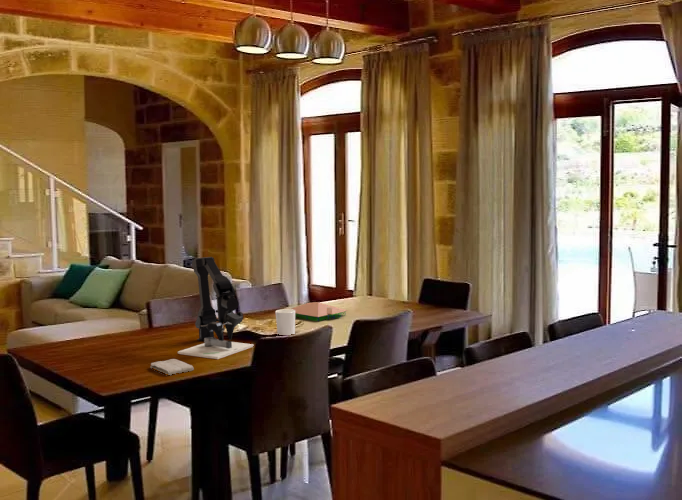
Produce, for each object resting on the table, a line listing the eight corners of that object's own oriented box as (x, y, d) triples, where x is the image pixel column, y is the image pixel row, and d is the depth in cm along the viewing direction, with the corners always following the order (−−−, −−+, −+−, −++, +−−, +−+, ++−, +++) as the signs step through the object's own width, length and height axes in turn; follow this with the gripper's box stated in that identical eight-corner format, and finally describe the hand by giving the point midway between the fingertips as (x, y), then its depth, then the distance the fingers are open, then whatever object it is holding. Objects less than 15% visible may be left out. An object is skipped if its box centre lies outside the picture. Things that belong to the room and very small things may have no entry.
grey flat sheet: (177, 353, 323) (177, 351, 322) (214, 341, 344) (214, 339, 344) (217, 359, 311) (217, 356, 311) (253, 346, 332) (253, 344, 332)
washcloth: (174, 363, 307) (173, 356, 307) (195, 371, 294) (194, 364, 293) (148, 369, 300) (147, 361, 299) (168, 377, 286) (168, 369, 286)
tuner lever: (202, 345, 331) (202, 338, 331) (209, 344, 334) (209, 336, 334) (226, 350, 321) (226, 342, 320) (233, 348, 324) (233, 340, 323)
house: (321, 323, 381) (321, 308, 380) (280, 316, 404) (280, 301, 403) (351, 316, 398) (351, 302, 397) (310, 310, 420) (309, 296, 420)
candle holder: (278, 338, 348) (277, 313, 347) (274, 333, 358) (273, 309, 356) (298, 336, 351) (297, 311, 350) (294, 332, 360) (293, 308, 359)
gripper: (224, 312, 317) (227, 347, 319) (250, 304, 333) (252, 337, 335) (204, 311, 322) (207, 345, 324) (231, 302, 338) (233, 335, 340)
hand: (226, 341), depth 331 cm, fingers open, 5 cm apart
